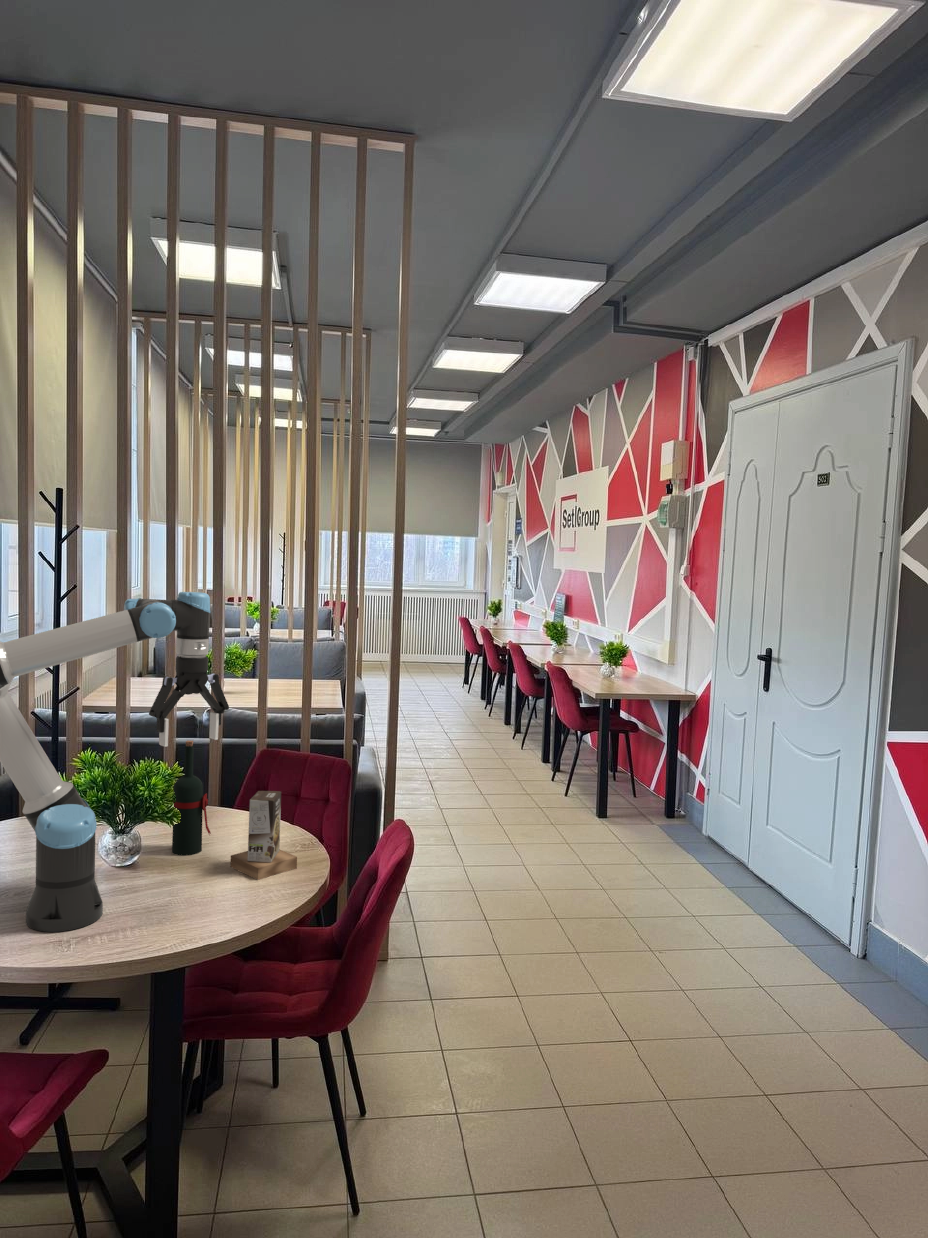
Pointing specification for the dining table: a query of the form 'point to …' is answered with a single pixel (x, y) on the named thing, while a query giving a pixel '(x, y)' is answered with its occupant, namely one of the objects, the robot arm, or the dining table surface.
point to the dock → (263, 864)
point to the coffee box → (264, 826)
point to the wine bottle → (189, 809)
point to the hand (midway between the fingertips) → (189, 742)
